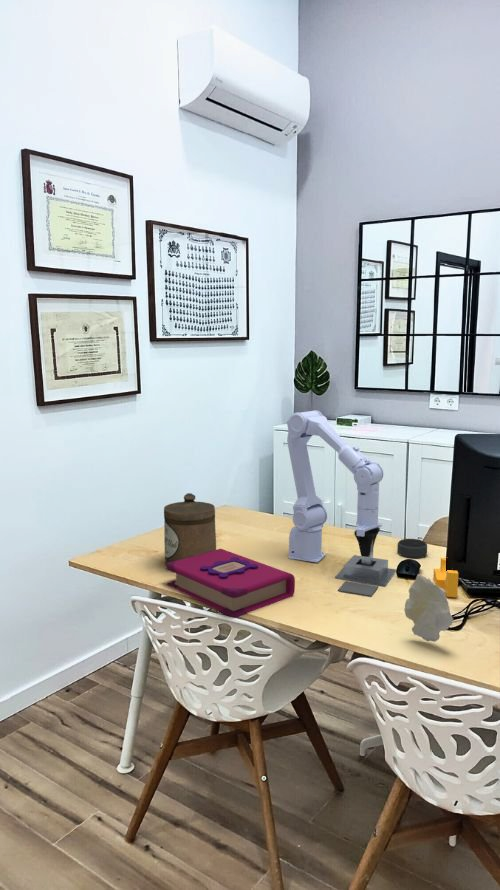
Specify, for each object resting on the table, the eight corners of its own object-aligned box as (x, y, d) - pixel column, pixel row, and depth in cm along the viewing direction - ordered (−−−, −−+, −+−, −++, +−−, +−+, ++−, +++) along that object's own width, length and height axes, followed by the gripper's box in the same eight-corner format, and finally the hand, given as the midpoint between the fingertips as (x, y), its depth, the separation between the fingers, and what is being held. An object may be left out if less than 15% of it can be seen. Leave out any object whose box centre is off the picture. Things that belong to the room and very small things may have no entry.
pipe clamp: (433, 579, 179) (434, 557, 178) (449, 580, 178) (450, 558, 177) (439, 596, 167) (440, 572, 166) (457, 597, 167) (458, 573, 166)
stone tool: (454, 644, 140) (458, 578, 138) (448, 650, 137) (451, 583, 135) (407, 630, 147) (410, 567, 144) (400, 636, 144) (403, 571, 142)
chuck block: (334, 578, 179) (335, 566, 179) (348, 564, 191) (348, 552, 190) (385, 586, 173) (385, 573, 173) (396, 571, 185) (396, 559, 184)
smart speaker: (416, 549, 206) (417, 536, 205) (432, 557, 197) (433, 545, 197) (391, 551, 203) (392, 539, 202) (407, 560, 195) (407, 547, 194)
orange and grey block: (361, 565, 181) (362, 539, 180) (363, 563, 183) (364, 537, 182) (370, 567, 180) (371, 541, 179) (372, 564, 182) (373, 538, 181)
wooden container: (165, 560, 195) (164, 488, 191) (214, 558, 196) (214, 487, 193) (164, 578, 180) (162, 500, 177) (217, 575, 182) (217, 499, 178)
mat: (337, 591, 170) (337, 589, 170) (345, 582, 176) (345, 581, 176) (371, 597, 166) (371, 595, 166) (378, 587, 173) (378, 586, 173)
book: (224, 570, 187) (224, 544, 186) (295, 598, 167) (295, 569, 166) (164, 588, 173) (164, 561, 172) (233, 621, 153) (233, 590, 152)
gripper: (375, 515, 171) (374, 564, 173) (388, 502, 184) (386, 549, 186) (349, 512, 174) (348, 560, 176) (364, 500, 187) (362, 545, 189)
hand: (366, 554), depth 181 cm, fingers closed on orange and grey block, 2 cm apart
